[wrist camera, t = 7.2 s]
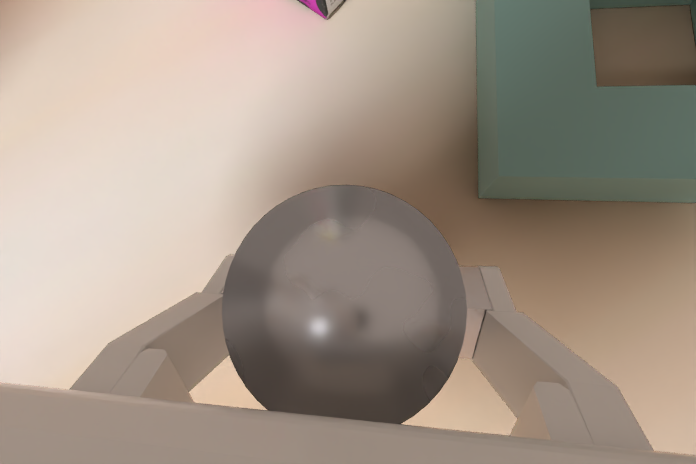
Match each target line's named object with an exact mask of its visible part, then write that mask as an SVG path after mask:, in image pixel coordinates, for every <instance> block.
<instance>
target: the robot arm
mask: <svg viewBox="0 0 696 464" xmlns="http://www.w3.org/2000/svg"><path fill="white" fill-rule="evenodd" d="M234 256H235V255H234V254H230V255H228V256H226V257H225V259H224V260H223V262H222V263H221V265H220V266H219V267H218V269H217V270H216V272H215V273H214V275H213V276H212V278H211V279H210V281H209V282H208V284H207V285H206V287H205V288H204V289H203V291H202V292H201V293H194V294H193V295H191V296H189V297H188V298H186V299H184V300H182V301H181V302H179V303H177V304H175V305H174V306H172V307H170V308H169V309H167V310H165V311H163V312H162V313H160V314H158V315H156V316H155V317H153V318H151V319H150V320H148V321H146V322H144V323H143V324H141V325H139V326H137V327H136V328H134V329H132V330H131V331H129V332H127V333H125V334H124V335H122V336H120V337H119V338H117V339H115V340H113V341H112V342H110V343H108V345H107V346H106V347H105V348H104V349H103V350H102V352H101V353H100V354H99V355H98V356H97V357H96V359H95V360H94V361H93V362H92V363H91V364H90V366H89V367H88V368H87V369H86V370H85V372H84V373H83V374H82V375H81V376H80V377H79V379H78V380H77V381H76V382H75V383H74V384H73V386H72V387H71V388H70V389H69V390H68V389H59V388H49V387H40V386H30V385H21V384H11V383H2V382H0V464H696V455H689V454H679V453H670V452H660V451H654V450H653V448H652V446H651V445H650V443H649V441H648V439H647V438H646V436H645V434H644V432H643V431H642V429H641V427H640V425H639V424H638V422H637V420H636V418H635V417H634V415H633V413H632V411H631V410H630V408H629V406H628V404H627V403H626V401H625V399H624V397H623V396H622V394H621V392H620V390H619V389H618V387H617V386H616V385H614V384H613V383H612V382H611V381H609V380H608V379H607V378H606V377H604V376H603V375H602V374H601V373H599V372H598V371H597V370H595V369H594V368H593V367H592V366H590V365H589V364H588V363H587V362H585V361H584V360H583V359H581V358H580V357H579V356H578V355H576V354H575V353H574V352H573V351H571V350H570V349H569V348H567V347H566V346H565V345H564V344H562V343H561V342H560V341H559V340H557V339H556V338H555V337H553V336H552V335H551V334H550V333H548V332H547V331H546V330H545V329H543V328H542V327H541V326H539V325H538V324H537V323H536V322H534V321H533V320H532V319H531V318H529V317H528V316H527V315H525V314H524V313H521V312H517V311H516V309H515V306H514V304H513V301H512V298H511V296H510V293H509V291H508V288H507V286H506V283H505V281H504V278H503V276H502V273H501V271H500V269H499V268H498V267H497V266H459V269H460V271H461V274H462V278H463V282H464V287H465V292H466V304H467V319H466V330H465V335H464V341H463V345H462V348H461V351H460V354H459V357H458V358H463V359H472V360H473V362H474V364H475V365H476V366H477V368H478V369H479V370H480V371H481V373H482V374H483V375H484V377H485V378H486V379H487V380H488V382H489V383H490V384H491V385H492V387H493V388H494V389H495V391H496V392H497V393H498V394H499V396H500V397H501V398H502V400H503V401H504V402H505V403H506V405H507V406H508V407H509V408H510V410H511V411H512V412H513V414H514V415H515V416H516V417H517V422H516V424H515V426H514V428H513V430H512V432H511V434H510V436H507V435H498V434H488V433H479V432H469V431H459V430H450V429H440V428H431V427H421V426H412V425H402V424H392V423H383V422H373V421H364V420H354V419H344V418H335V417H325V416H316V415H306V414H297V413H287V412H278V411H268V410H258V409H249V408H239V407H230V406H220V405H211V404H201V403H195V402H194V401H193V399H192V397H191V395H190V394H189V391H190V390H191V389H193V388H194V387H195V386H196V385H197V384H198V383H199V382H200V381H201V380H202V379H203V378H205V377H206V376H207V375H208V374H209V373H210V372H211V371H212V370H213V369H214V368H215V367H216V366H218V365H219V364H220V363H221V362H222V361H223V360H224V359H225V358H226V357H227V356H228V355H229V352H228V349H227V345H226V342H225V336H224V331H223V322H222V301H223V292H224V286H225V281H226V277H227V274H228V271H229V268H230V265H231V263H232V260H233V258H234Z"/></svg>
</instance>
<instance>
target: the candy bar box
mask: <svg viewBox="0 0 696 464" xmlns="http://www.w3.org/2000/svg"><path fill="white" fill-rule="evenodd" d="M298 1H299V2H301V3H302V4H304V5H305V6H307V7H308V8H310V9H311V10H313V11H314V12H316V13H317V14H319V15H320V16H322V17H323V18H325V19H328V18H329V17H331V16H332V15H333V14H334V13H335V12H336V11H337V10H338V9H339V8H340V7H341V5H342V4H343V3H344V1H345V0H298Z"/></svg>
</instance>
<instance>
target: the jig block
mask: <svg viewBox="0 0 696 464" xmlns="http://www.w3.org/2000/svg"><path fill="white" fill-rule="evenodd" d="M689 4H690V9H691V16H692V23H693V29H694V36H695V43H696V0H476V56H477V130H478V198H493V199H539V200H585V201H631V202H677V203H696V85H663V86H605V87H597V84H596V72H595V60H594V49H593V37H592V25H591V13H590V9H598V8H621V7H644V6H667V5H689Z"/></svg>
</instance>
